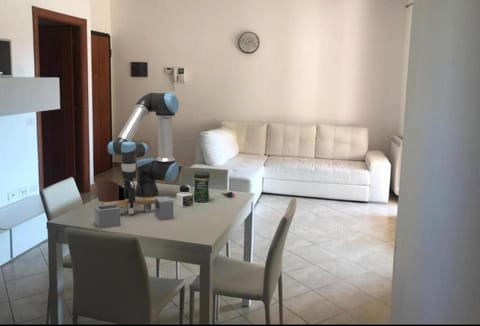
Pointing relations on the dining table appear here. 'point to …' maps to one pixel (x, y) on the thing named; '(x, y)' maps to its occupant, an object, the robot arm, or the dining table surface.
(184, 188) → the medicine bottle
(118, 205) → the slat
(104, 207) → the frame
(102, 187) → the letter holder
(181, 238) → the dining table surface
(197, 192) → the coffee jar
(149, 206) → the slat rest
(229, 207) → the dining table surface
